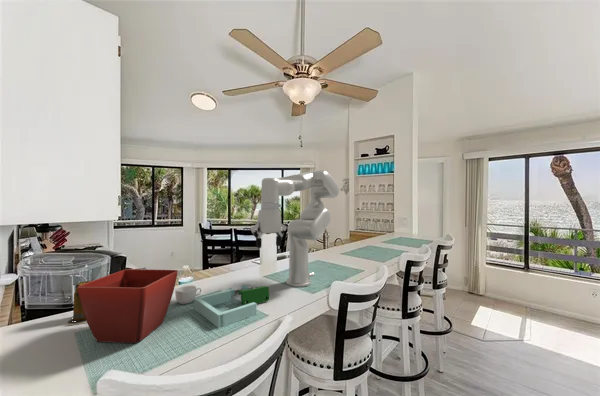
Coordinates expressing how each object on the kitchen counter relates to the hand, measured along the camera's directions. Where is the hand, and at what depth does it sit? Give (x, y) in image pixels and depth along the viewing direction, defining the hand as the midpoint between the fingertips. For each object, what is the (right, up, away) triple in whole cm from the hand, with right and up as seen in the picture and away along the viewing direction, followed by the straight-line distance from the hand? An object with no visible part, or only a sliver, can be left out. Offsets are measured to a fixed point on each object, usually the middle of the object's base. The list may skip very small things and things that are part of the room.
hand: (268, 246), depth 110 cm
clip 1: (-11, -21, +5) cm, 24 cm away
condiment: (-60, -21, -23) cm, 68 cm away
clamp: (-5, -21, -6) cm, 23 cm away
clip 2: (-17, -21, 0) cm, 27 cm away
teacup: (-32, -21, -7) cm, 39 cm away
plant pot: (-38, -21, -31) cm, 54 cm away
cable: (-17, -21, -2) cm, 27 cm away
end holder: (-14, -21, -16) cm, 30 cm away
